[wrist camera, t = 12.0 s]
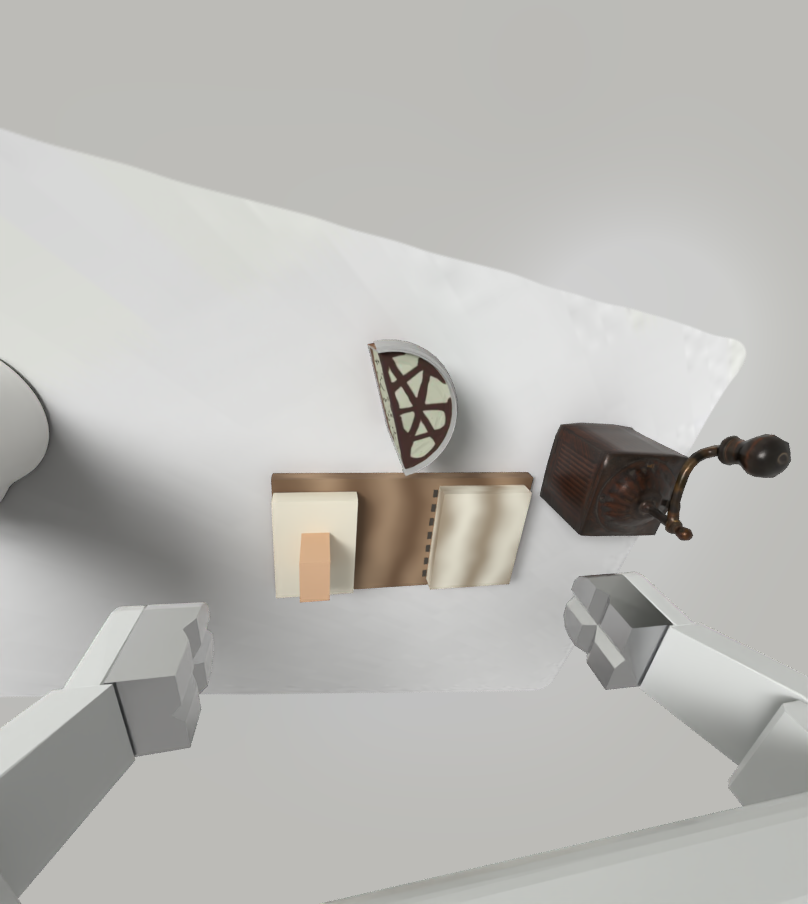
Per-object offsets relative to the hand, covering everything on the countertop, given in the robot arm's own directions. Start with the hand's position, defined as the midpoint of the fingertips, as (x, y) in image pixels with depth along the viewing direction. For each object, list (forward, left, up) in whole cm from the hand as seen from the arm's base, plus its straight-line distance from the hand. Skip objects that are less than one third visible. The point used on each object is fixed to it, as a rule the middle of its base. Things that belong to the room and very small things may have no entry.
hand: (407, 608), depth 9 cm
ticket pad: (+8, -22, -34) cm, 41 cm away
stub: (-2, -22, -32) cm, 39 cm away
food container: (+7, -3, -34) cm, 35 cm away
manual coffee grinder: (+32, -10, -34) cm, 48 cm away
